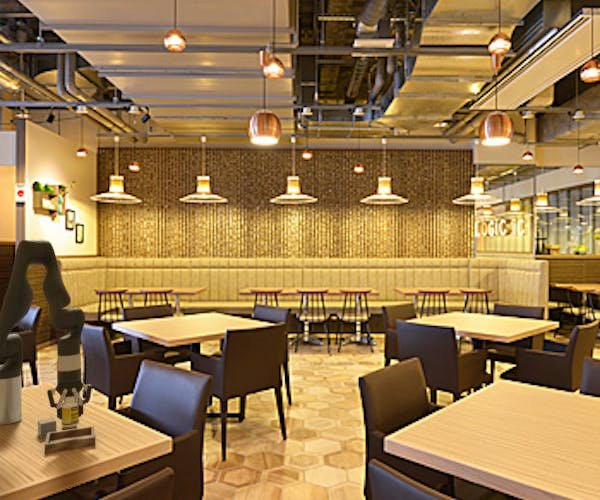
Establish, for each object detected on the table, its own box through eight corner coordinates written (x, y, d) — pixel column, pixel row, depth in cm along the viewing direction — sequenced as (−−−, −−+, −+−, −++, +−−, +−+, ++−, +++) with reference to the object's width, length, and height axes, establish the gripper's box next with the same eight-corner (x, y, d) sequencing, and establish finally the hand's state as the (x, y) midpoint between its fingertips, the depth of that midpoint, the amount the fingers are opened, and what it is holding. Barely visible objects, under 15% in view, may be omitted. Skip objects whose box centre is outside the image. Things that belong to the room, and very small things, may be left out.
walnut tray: (44, 453, 162) (44, 444, 162) (47, 440, 173) (47, 432, 173) (95, 445, 168) (94, 437, 168) (94, 433, 179) (94, 425, 179)
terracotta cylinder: (65, 430, 183) (66, 413, 183) (59, 426, 187) (60, 410, 186) (79, 426, 187) (79, 410, 187) (73, 423, 190) (73, 407, 190)
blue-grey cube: (41, 438, 176) (40, 424, 176) (38, 434, 180) (37, 420, 180) (56, 435, 179) (56, 420, 179) (53, 431, 183) (53, 417, 183)
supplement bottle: (72, 427, 167) (71, 398, 167) (58, 427, 169) (57, 397, 169) (82, 422, 173) (82, 393, 173) (68, 421, 174) (68, 393, 174)
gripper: (92, 363, 177) (93, 411, 177) (46, 367, 171) (47, 417, 171) (92, 367, 170) (93, 417, 170) (44, 372, 164) (45, 424, 164)
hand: (70, 417), depth 171 cm, fingers closed on supplement bottle, 5 cm apart
